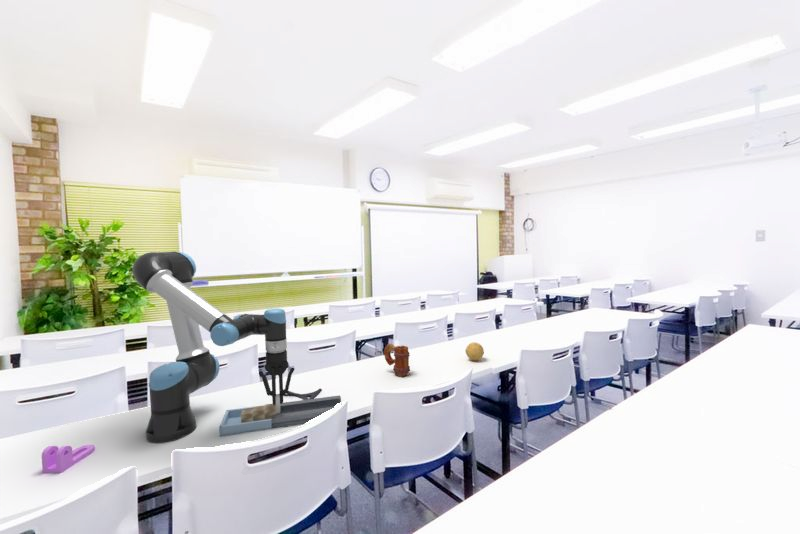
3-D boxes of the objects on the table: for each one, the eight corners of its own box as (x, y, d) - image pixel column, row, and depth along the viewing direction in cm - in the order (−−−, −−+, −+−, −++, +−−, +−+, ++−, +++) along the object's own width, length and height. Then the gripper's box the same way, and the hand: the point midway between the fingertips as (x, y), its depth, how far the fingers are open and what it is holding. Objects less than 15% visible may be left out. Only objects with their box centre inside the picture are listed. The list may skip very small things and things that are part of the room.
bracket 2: (291, 390, 167) (291, 384, 166) (322, 391, 164) (321, 385, 164) (275, 403, 152) (275, 397, 152) (308, 405, 150) (308, 399, 150)
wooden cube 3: (264, 419, 134) (264, 409, 133) (265, 414, 137) (265, 404, 137) (276, 417, 135) (275, 407, 134) (276, 413, 138) (276, 403, 138)
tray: (219, 436, 125) (219, 427, 125) (226, 418, 138) (226, 410, 138) (271, 428, 130) (271, 420, 129) (273, 412, 143) (273, 404, 143)
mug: (414, 373, 183) (413, 344, 183) (405, 378, 177) (405, 348, 176) (390, 369, 191) (389, 341, 191) (381, 373, 184) (380, 344, 184)
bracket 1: (61, 473, 106) (59, 450, 105) (42, 473, 106) (41, 450, 106) (99, 448, 119) (98, 428, 118) (82, 448, 119) (81, 428, 119)
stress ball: (470, 358, 210) (459, 349, 206) (481, 345, 210) (470, 336, 206) (479, 366, 200) (467, 357, 197) (490, 353, 201) (479, 343, 197)
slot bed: (271, 428, 130) (271, 419, 129) (273, 412, 143) (273, 403, 143) (344, 418, 137) (344, 409, 137) (340, 403, 150) (339, 394, 150)
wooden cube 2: (253, 422, 132) (252, 411, 132) (254, 417, 136) (253, 407, 136) (264, 420, 134) (264, 409, 133) (265, 415, 137) (265, 405, 137)
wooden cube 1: (241, 425, 131) (240, 414, 131) (242, 420, 135) (242, 410, 135) (253, 423, 132) (252, 413, 132) (254, 419, 136) (253, 408, 136)
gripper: (256, 354, 130) (259, 419, 131) (294, 351, 134) (296, 413, 135) (258, 349, 137) (260, 410, 139) (294, 346, 141) (296, 405, 142)
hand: (278, 411), depth 137 cm, fingers closed
